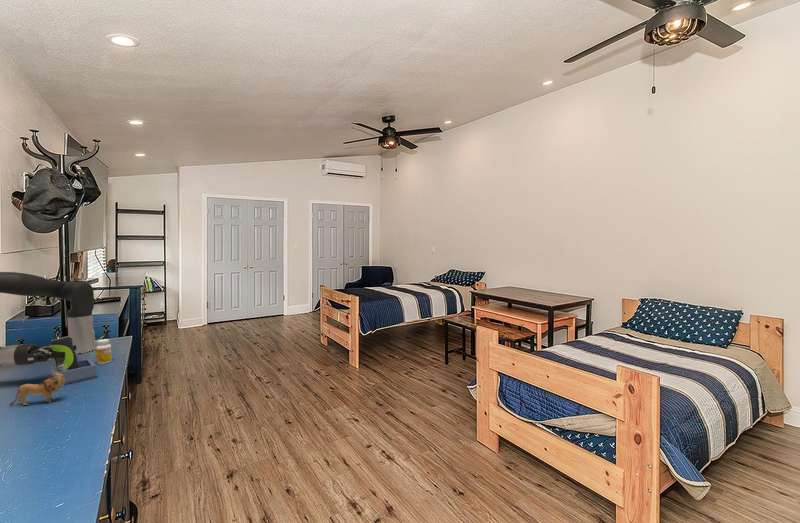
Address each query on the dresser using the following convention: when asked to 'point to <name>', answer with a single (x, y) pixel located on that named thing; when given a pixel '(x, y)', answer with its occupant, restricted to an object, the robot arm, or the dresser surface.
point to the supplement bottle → (103, 351)
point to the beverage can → (70, 355)
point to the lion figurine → (40, 388)
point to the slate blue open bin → (78, 372)
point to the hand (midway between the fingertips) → (70, 351)
